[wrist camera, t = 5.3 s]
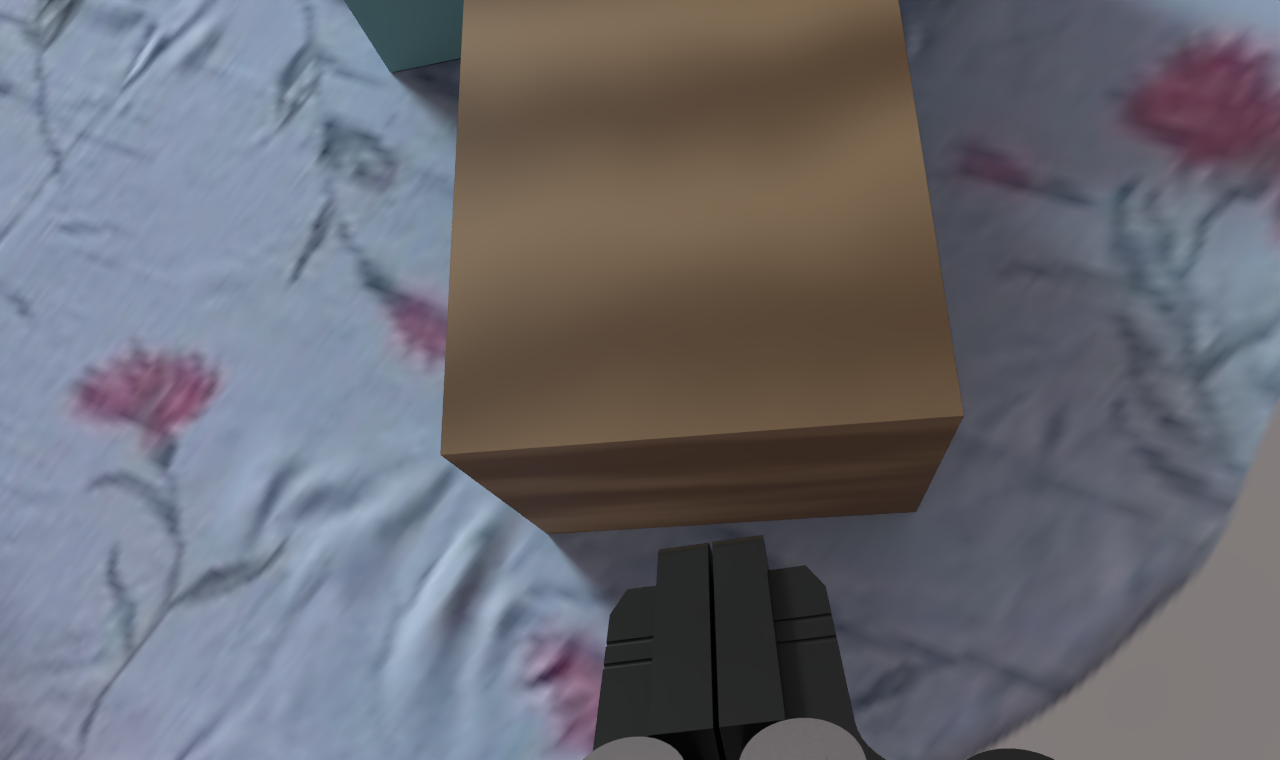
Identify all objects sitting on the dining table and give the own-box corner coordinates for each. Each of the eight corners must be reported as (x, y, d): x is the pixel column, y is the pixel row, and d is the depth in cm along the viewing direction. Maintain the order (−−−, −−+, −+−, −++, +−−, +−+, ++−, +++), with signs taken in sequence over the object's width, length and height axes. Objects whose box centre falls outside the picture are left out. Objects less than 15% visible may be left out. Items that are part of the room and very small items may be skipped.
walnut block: (915, 513, 30) (963, 415, 20) (548, 535, 31) (440, 454, 22) (862, 118, 35) (882, -101, 26) (552, 156, 37) (465, -36, 27)
